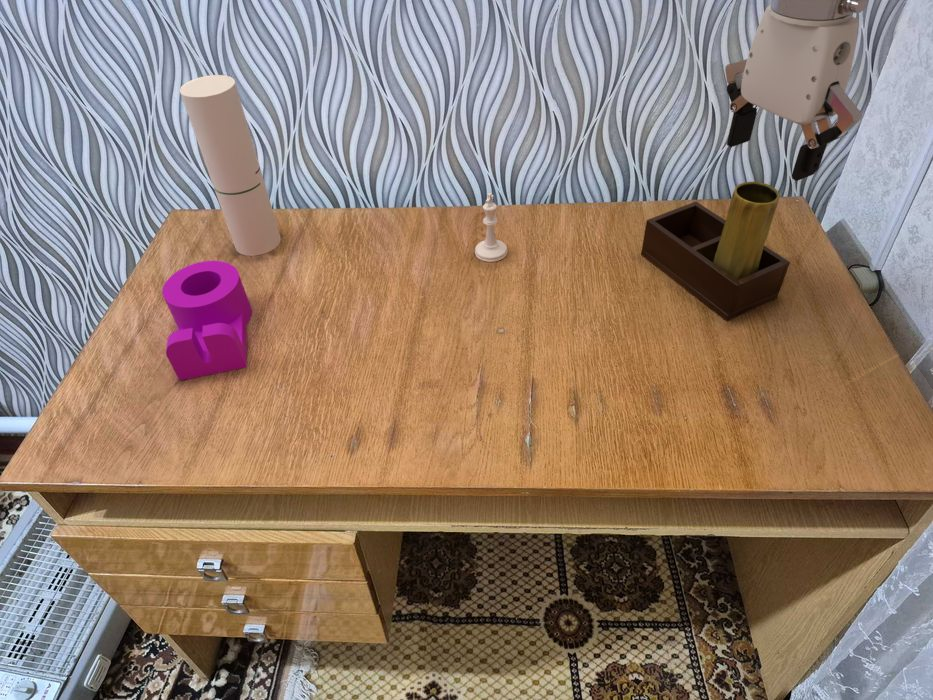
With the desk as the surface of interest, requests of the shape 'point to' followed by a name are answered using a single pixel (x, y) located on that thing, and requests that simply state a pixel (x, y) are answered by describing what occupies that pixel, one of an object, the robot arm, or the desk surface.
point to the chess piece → (490, 236)
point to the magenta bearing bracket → (207, 319)
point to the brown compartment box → (708, 261)
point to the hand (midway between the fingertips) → (769, 159)
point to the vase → (746, 228)
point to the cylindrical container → (231, 162)
